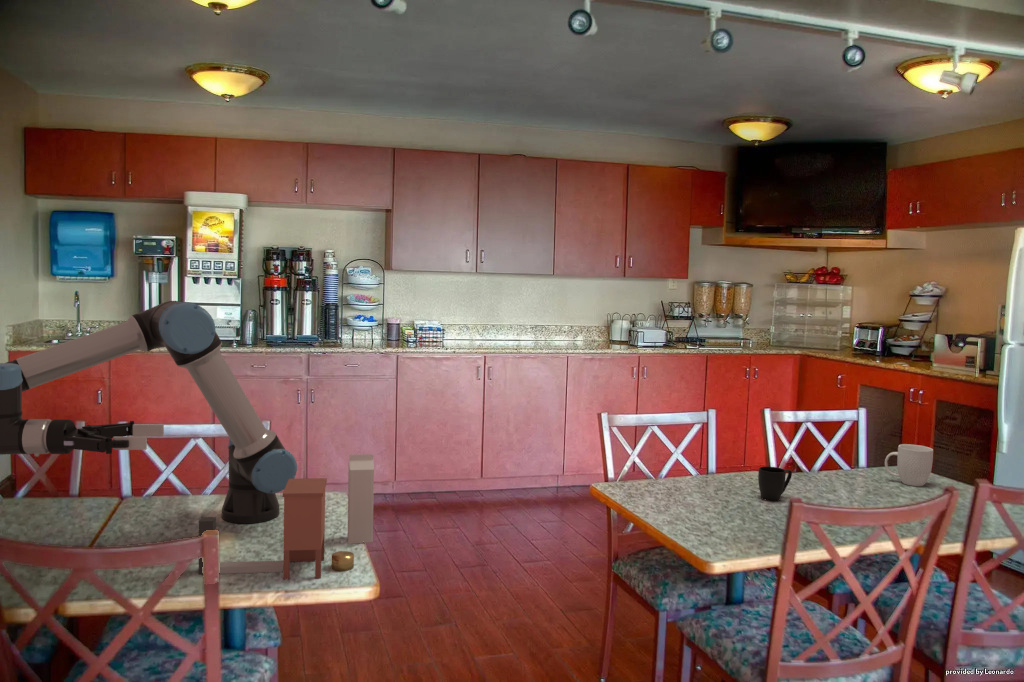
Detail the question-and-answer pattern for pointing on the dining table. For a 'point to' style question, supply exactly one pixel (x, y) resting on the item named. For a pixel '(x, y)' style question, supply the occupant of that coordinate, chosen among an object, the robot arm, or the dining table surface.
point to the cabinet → (304, 522)
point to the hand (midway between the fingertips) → (155, 436)
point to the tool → (238, 567)
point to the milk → (360, 498)
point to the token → (342, 561)
